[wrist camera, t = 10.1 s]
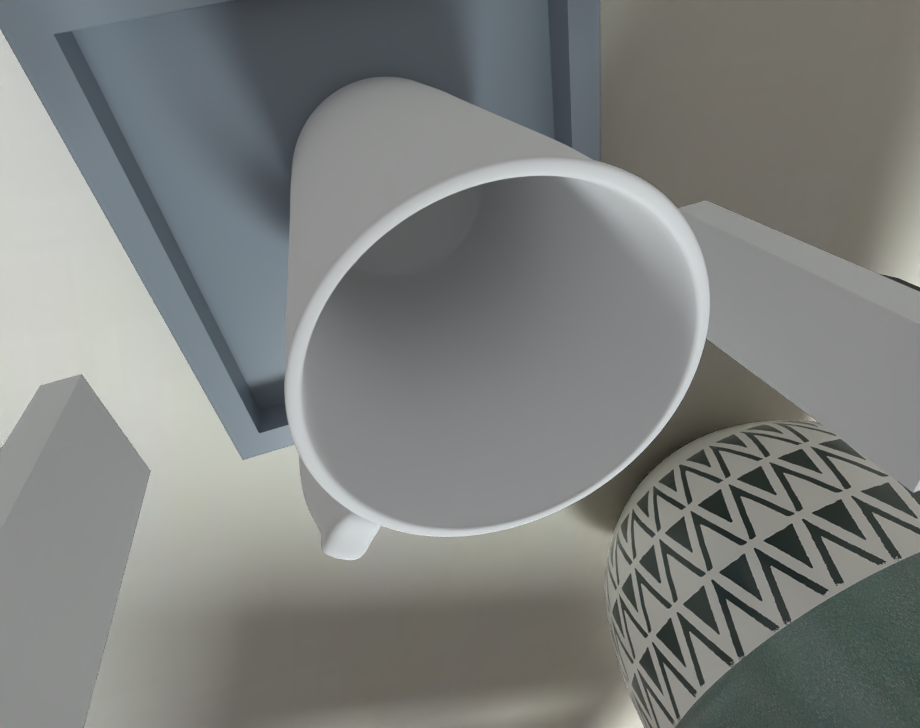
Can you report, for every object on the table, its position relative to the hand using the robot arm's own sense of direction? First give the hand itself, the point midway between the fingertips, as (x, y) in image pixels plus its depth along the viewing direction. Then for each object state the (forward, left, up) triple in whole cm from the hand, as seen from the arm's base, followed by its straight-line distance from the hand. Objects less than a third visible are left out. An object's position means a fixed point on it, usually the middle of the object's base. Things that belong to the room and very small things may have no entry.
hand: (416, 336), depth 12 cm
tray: (0, 0, -9) cm, 9 cm away
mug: (0, 0, -8) cm, 8 cm away
